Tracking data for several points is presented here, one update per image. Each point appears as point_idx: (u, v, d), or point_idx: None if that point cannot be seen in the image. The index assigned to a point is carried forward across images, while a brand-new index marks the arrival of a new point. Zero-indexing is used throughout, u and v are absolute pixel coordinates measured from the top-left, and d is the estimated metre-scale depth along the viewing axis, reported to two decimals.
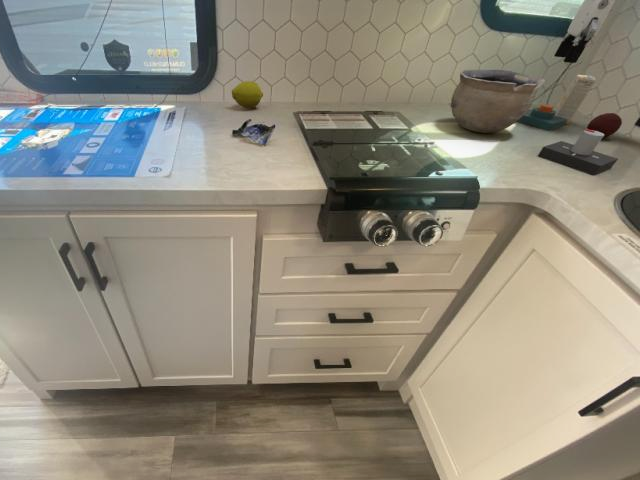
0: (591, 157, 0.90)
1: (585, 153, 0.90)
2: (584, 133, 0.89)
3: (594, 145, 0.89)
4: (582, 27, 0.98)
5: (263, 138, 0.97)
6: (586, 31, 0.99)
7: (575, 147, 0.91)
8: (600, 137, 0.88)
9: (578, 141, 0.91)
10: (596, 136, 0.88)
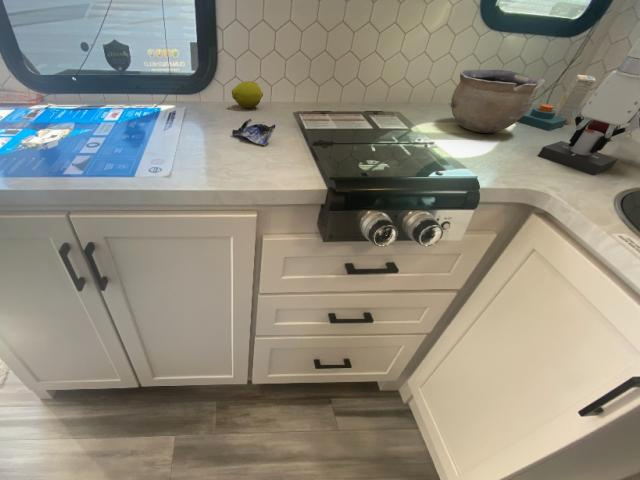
0: (591, 157, 0.90)
1: (585, 153, 0.90)
2: (584, 133, 0.89)
3: (594, 145, 0.89)
4: (630, 116, 0.82)
5: (263, 138, 0.97)
6: None
7: (575, 147, 0.91)
8: (600, 137, 0.88)
9: (578, 141, 0.91)
10: (596, 136, 0.88)
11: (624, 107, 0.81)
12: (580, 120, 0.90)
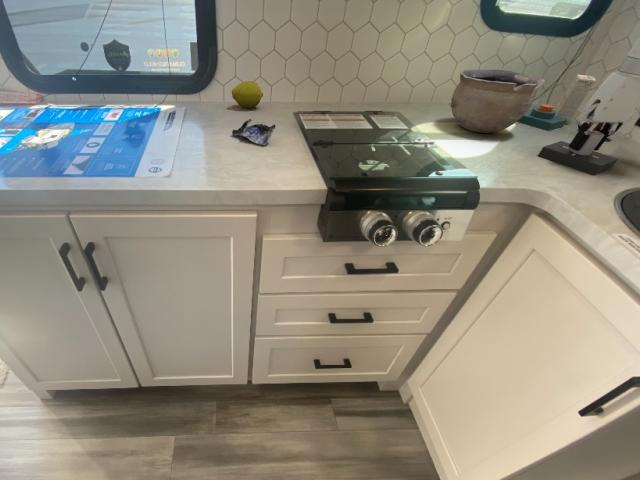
0: (591, 157, 0.90)
1: (591, 152, 0.91)
2: (594, 136, 0.88)
3: None
4: None
5: (263, 138, 0.97)
6: None
7: (585, 150, 0.90)
8: None
9: (587, 144, 0.89)
10: None
11: (633, 106, 0.83)
12: (587, 125, 0.87)
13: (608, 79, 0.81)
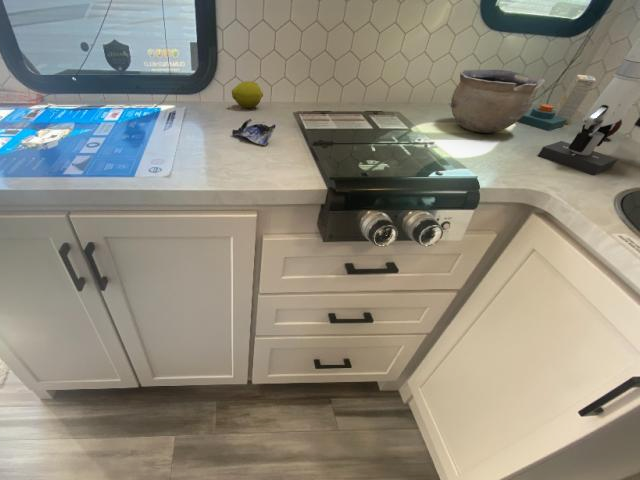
0: (591, 157, 0.90)
1: None
2: (598, 137, 0.88)
3: None
4: None
5: (263, 138, 0.97)
6: None
7: (589, 150, 0.90)
8: None
9: (592, 145, 0.89)
10: None
11: (629, 107, 0.84)
12: (592, 127, 0.85)
13: (613, 84, 0.80)
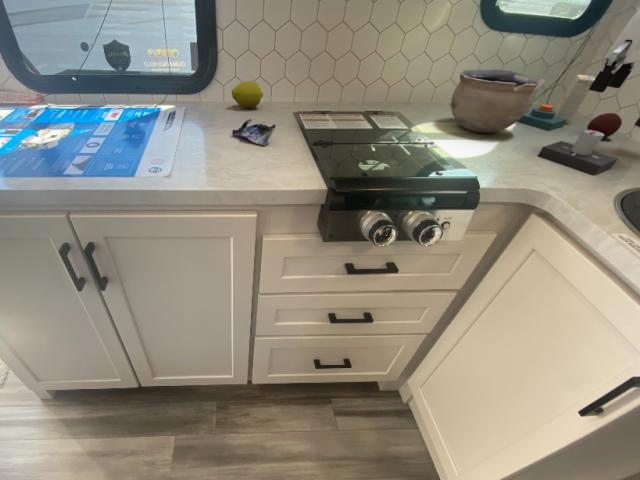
0: (591, 157, 0.90)
1: None
2: (598, 137, 0.88)
3: None
4: None
5: (263, 138, 0.97)
6: None
7: (589, 150, 0.90)
8: None
9: (592, 145, 0.89)
10: None
11: None
12: (615, 64, 0.82)
13: (637, 17, 0.78)
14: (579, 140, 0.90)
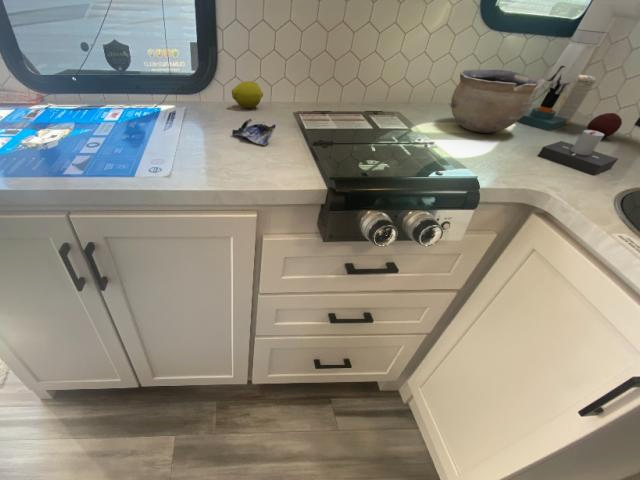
0: (591, 157, 0.90)
1: None
2: (598, 137, 0.88)
3: None
4: None
5: (263, 138, 0.97)
6: None
7: (589, 150, 0.90)
8: None
9: (592, 145, 0.89)
10: None
11: (582, 68, 1.06)
12: (558, 87, 1.09)
13: (568, 49, 1.02)
14: (579, 140, 0.90)
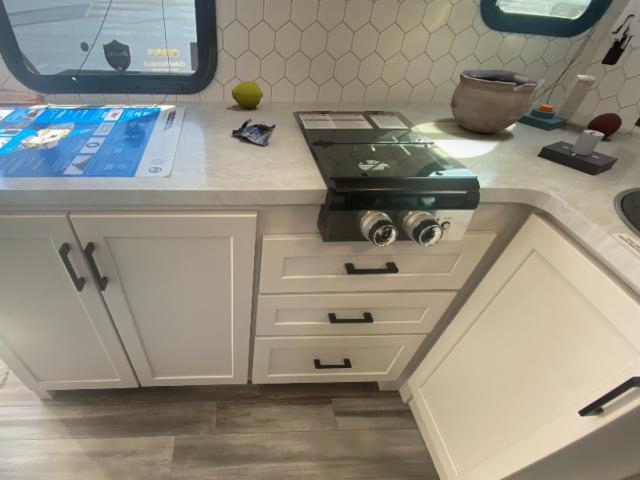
0: (591, 157, 0.90)
1: None
2: (598, 137, 0.88)
3: None
4: None
5: (263, 138, 0.97)
6: None
7: (589, 150, 0.90)
8: None
9: (592, 145, 0.89)
10: None
11: None
12: (623, 40, 0.99)
13: None
14: (579, 140, 0.90)
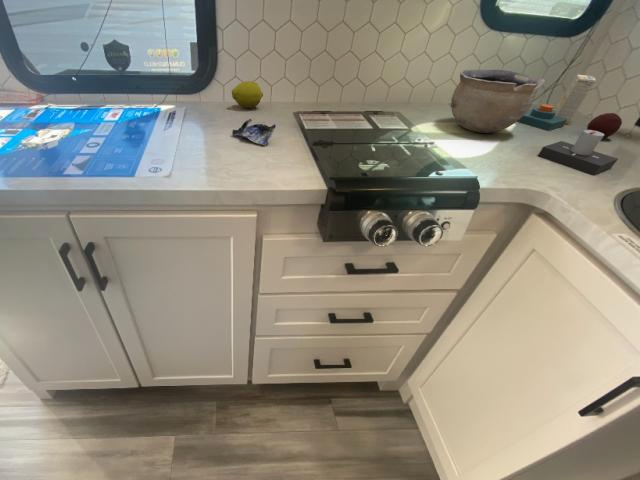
0: (591, 157, 0.90)
1: None
2: (598, 137, 0.88)
3: None
4: None
5: (263, 138, 0.97)
6: None
7: (589, 150, 0.90)
8: None
9: (592, 145, 0.89)
10: None
11: None
12: None
13: None
14: (579, 140, 0.90)
